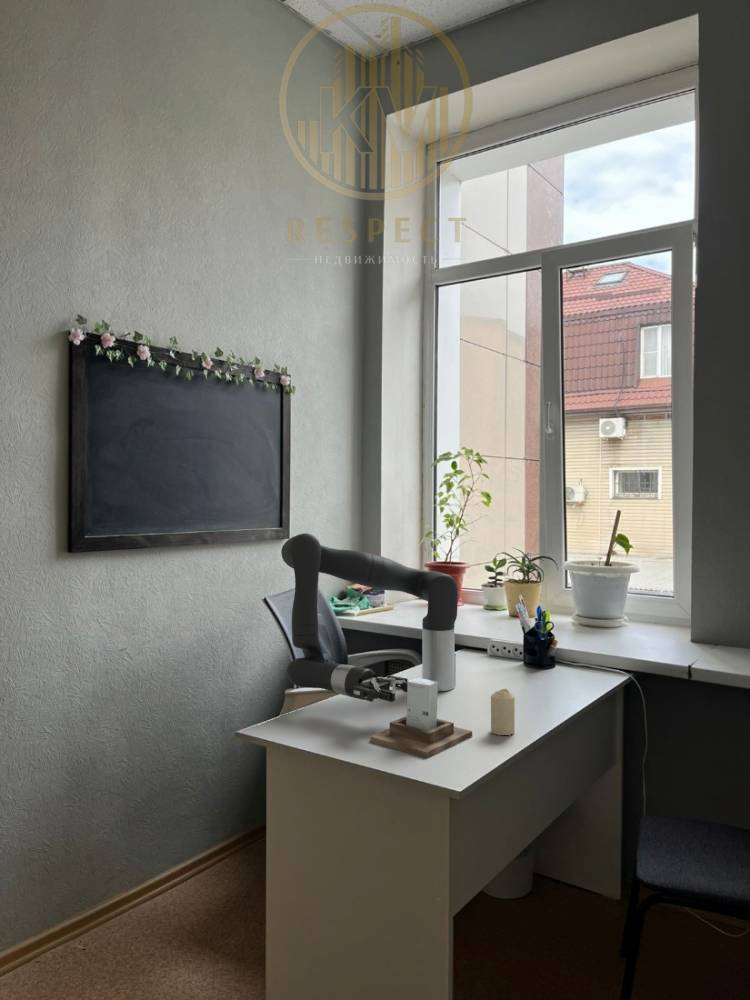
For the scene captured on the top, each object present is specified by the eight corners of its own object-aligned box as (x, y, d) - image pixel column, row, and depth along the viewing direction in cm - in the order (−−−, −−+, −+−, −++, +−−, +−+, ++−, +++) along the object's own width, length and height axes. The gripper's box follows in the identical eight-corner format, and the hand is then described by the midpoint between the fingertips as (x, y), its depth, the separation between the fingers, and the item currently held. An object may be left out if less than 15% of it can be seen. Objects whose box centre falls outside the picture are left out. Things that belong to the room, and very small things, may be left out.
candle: (498, 726, 178) (498, 685, 178) (518, 731, 174) (518, 689, 174) (486, 732, 174) (486, 690, 173) (507, 737, 170) (507, 694, 170)
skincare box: (405, 733, 170) (405, 681, 169) (415, 728, 173) (415, 676, 173) (428, 738, 166) (428, 685, 166) (438, 733, 170) (438, 680, 170)
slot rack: (417, 722, 181) (417, 707, 181) (472, 736, 171) (472, 720, 171) (369, 741, 168) (369, 725, 168) (426, 758, 157) (426, 740, 157)
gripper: (334, 672, 177) (386, 683, 167) (371, 661, 188) (423, 671, 178) (334, 703, 177) (386, 716, 167) (371, 690, 188) (423, 702, 178)
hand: (405, 693), depth 172 cm, fingers open, 8 cm apart
